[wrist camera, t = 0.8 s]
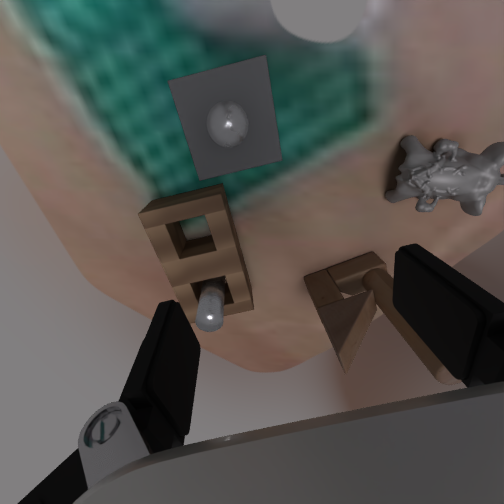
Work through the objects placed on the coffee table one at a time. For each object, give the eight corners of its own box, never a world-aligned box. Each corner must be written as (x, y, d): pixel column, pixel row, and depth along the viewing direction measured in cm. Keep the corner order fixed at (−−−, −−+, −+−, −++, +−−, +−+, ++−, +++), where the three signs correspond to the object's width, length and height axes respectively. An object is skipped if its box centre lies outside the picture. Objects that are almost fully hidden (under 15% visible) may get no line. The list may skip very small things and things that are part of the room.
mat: (168, 81, 25) (167, 81, 25) (265, 55, 24) (265, 54, 24) (200, 180, 30) (199, 180, 29) (281, 159, 29) (282, 160, 29)
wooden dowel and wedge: (302, 276, 37) (354, 391, 21) (372, 250, 36) (484, 352, 20) (309, 294, 39) (361, 413, 23) (376, 269, 38) (481, 378, 22)
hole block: (151, 200, 30) (137, 214, 26) (222, 183, 30) (220, 193, 26) (194, 300, 38) (189, 323, 33) (251, 287, 37) (254, 309, 33)
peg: (212, 111, 26) (201, 106, 17) (239, 104, 26) (243, 95, 17) (220, 142, 27) (213, 151, 19) (246, 135, 27) (252, 141, 18)
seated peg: (201, 266, 35) (191, 314, 26) (222, 261, 35) (218, 308, 26) (208, 282, 37) (200, 334, 28) (228, 278, 36) (226, 328, 28)
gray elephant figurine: (379, 142, 29) (418, 150, 23) (489, 108, 28) (565, 107, 21) (382, 212, 34) (416, 237, 27) (476, 187, 32) (537, 206, 26)
